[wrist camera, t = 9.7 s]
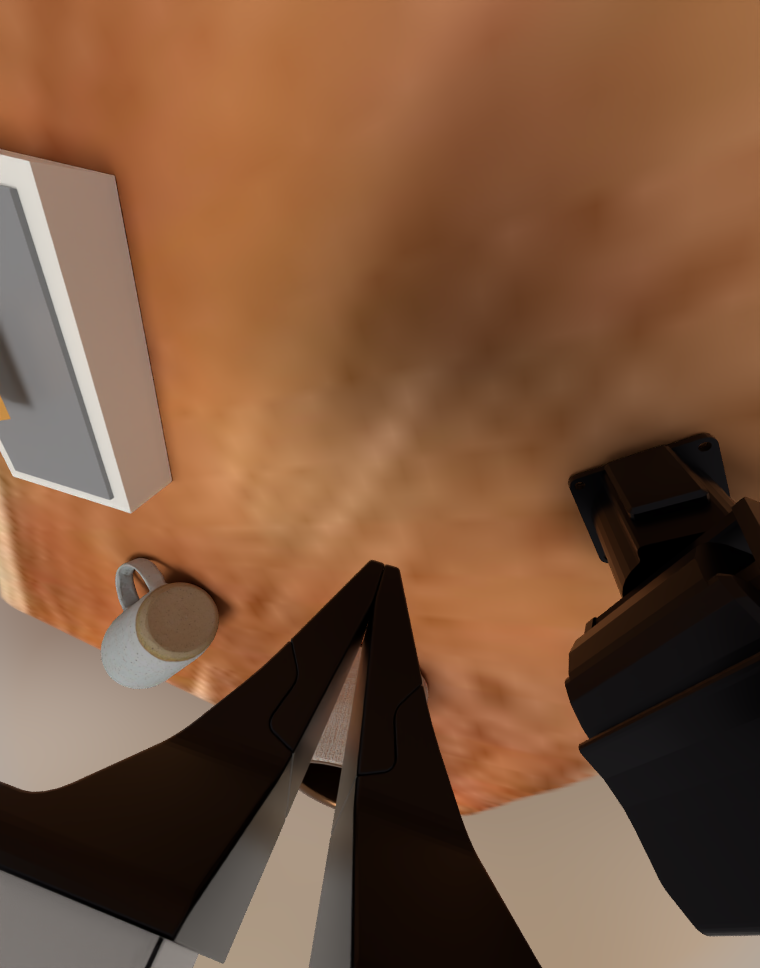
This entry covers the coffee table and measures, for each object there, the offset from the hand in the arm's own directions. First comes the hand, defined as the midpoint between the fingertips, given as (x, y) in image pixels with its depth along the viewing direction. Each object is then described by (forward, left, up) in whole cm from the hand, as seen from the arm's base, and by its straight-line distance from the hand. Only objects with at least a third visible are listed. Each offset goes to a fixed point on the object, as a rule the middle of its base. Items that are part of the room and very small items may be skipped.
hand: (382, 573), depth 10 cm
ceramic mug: (-6, +31, -12) cm, 34 cm away
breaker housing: (+13, +17, -12) cm, 25 cm away
